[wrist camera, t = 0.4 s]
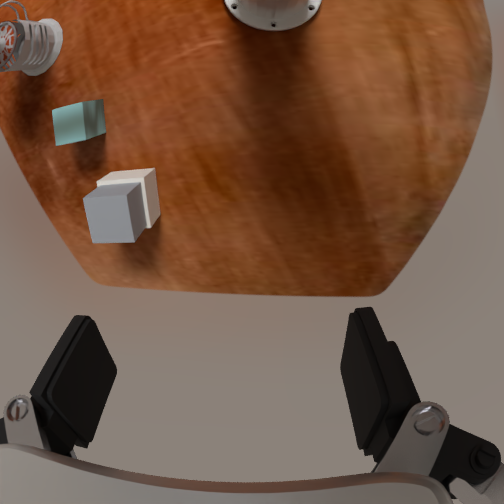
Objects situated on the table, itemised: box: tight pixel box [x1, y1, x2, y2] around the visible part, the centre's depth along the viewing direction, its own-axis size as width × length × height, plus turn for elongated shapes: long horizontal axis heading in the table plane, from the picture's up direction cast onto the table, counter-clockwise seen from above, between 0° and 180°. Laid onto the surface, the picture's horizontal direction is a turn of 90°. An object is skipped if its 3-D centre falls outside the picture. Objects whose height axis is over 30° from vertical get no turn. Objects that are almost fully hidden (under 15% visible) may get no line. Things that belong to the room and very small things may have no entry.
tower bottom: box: [97, 168, 160, 228], centre depth 41 cm, size 7×7×5 cm
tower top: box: [83, 182, 147, 243], centre depth 36 cm, size 6×6×5 cm
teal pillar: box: [52, 99, 106, 146], centre depth 34 cm, size 5×5×6 cm
